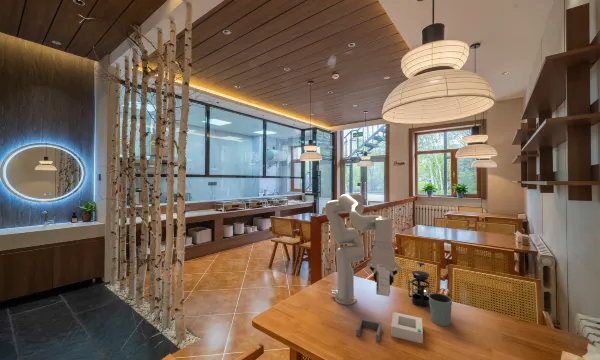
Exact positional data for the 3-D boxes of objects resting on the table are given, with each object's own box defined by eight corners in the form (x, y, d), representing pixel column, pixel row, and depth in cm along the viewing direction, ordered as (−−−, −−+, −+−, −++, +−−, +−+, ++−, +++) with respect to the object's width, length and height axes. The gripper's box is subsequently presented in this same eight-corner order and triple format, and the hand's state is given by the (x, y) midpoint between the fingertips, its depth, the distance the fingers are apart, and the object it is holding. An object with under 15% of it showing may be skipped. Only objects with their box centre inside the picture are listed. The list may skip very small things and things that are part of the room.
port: (391, 335, 113) (391, 324, 113) (393, 320, 125) (393, 310, 125) (422, 343, 108) (422, 332, 108) (421, 327, 120) (421, 316, 120)
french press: (428, 299, 146) (428, 261, 146) (433, 308, 137) (432, 266, 137) (407, 297, 149) (407, 259, 149) (410, 305, 140) (410, 265, 140)
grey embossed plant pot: (455, 328, 119) (455, 303, 119) (432, 325, 121) (432, 301, 121) (447, 316, 129) (447, 293, 129) (426, 314, 131) (426, 291, 131)
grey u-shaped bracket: (356, 335, 114) (356, 329, 113) (360, 324, 123) (360, 318, 123) (379, 341, 109) (379, 335, 109) (381, 329, 118) (381, 322, 118)
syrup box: (377, 289, 120) (377, 259, 119) (390, 291, 117) (390, 261, 117) (376, 294, 114) (376, 263, 114) (389, 297, 112) (389, 265, 112)
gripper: (363, 244, 116) (363, 282, 116) (402, 248, 108) (402, 289, 108) (366, 240, 123) (366, 276, 123) (404, 244, 115) (404, 283, 115)
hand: (383, 282), depth 116 cm, fingers closed on syrup box, 5 cm apart
